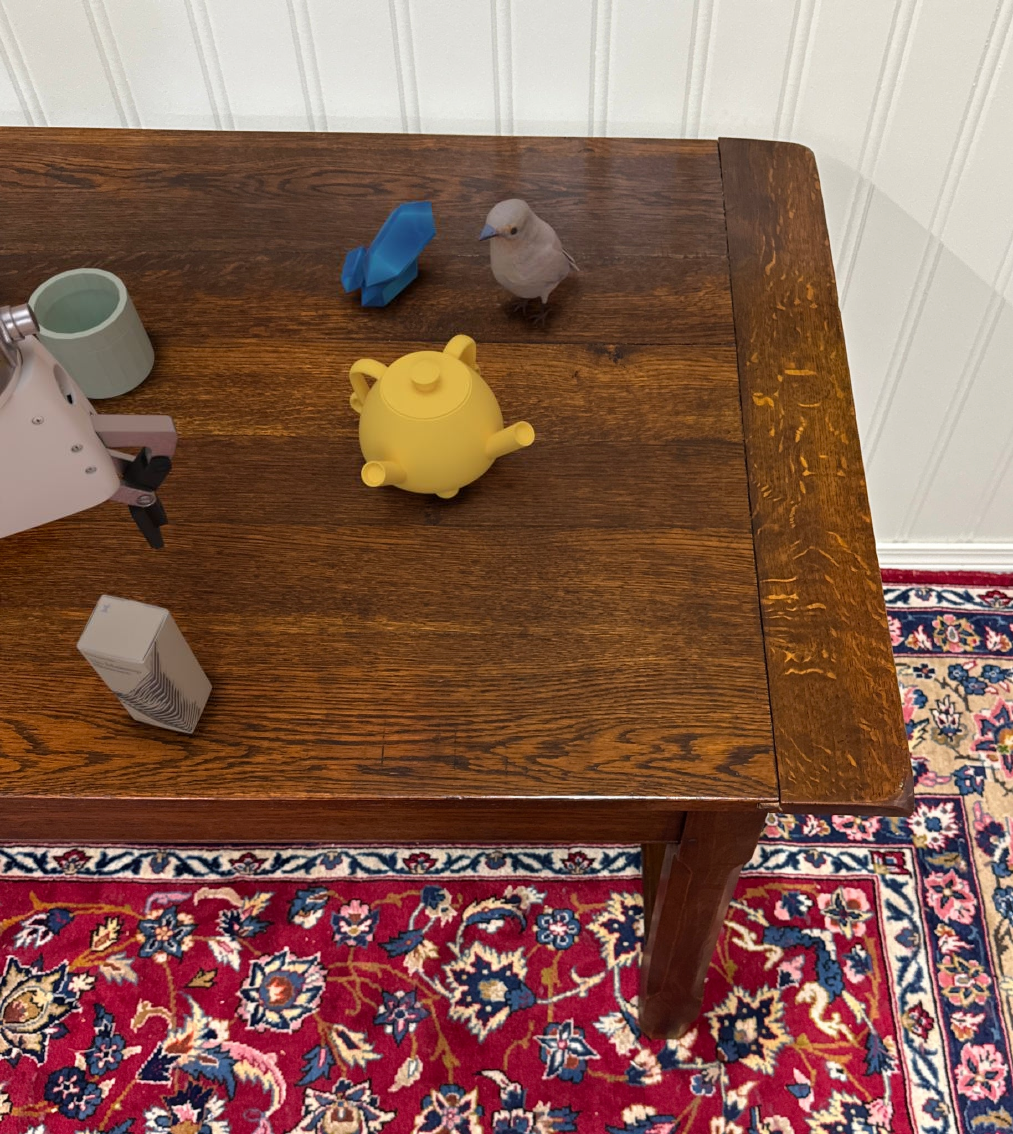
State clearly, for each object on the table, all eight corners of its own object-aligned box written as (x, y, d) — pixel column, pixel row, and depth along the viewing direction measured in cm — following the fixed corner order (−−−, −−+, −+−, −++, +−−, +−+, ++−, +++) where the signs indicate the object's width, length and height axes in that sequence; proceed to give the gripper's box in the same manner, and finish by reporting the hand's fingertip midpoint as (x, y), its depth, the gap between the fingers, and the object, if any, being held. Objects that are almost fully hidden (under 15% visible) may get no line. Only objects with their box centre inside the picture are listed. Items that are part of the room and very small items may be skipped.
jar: (63, 407, 93) (26, 347, 86) (60, 340, 97) (25, 278, 90) (158, 388, 94) (129, 327, 87) (151, 323, 98) (123, 260, 91)
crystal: (313, 257, 93) (384, 164, 95) (340, 311, 101) (405, 223, 103) (376, 287, 91) (447, 191, 93) (399, 339, 99) (463, 250, 101)
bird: (464, 338, 97) (456, 212, 84) (555, 267, 102) (561, 137, 89) (501, 363, 95) (498, 239, 82) (592, 289, 100) (603, 161, 87)
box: (133, 721, 76) (68, 647, 65) (156, 670, 78) (97, 591, 67) (196, 736, 76) (142, 664, 65) (218, 685, 78) (169, 607, 67)
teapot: (377, 542, 84) (359, 463, 75) (340, 424, 91) (320, 337, 82) (536, 498, 87) (538, 416, 77) (489, 386, 93) (486, 297, 84)
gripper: (98, 250, 47) (201, 463, 62) (-286, 361, 44) (-82, 557, 59) (131, 358, 44) (231, 557, 59) (-285, 487, 41) (-68, 662, 55)
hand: (74, 557), depth 59 cm, fingers open, 9 cm apart
